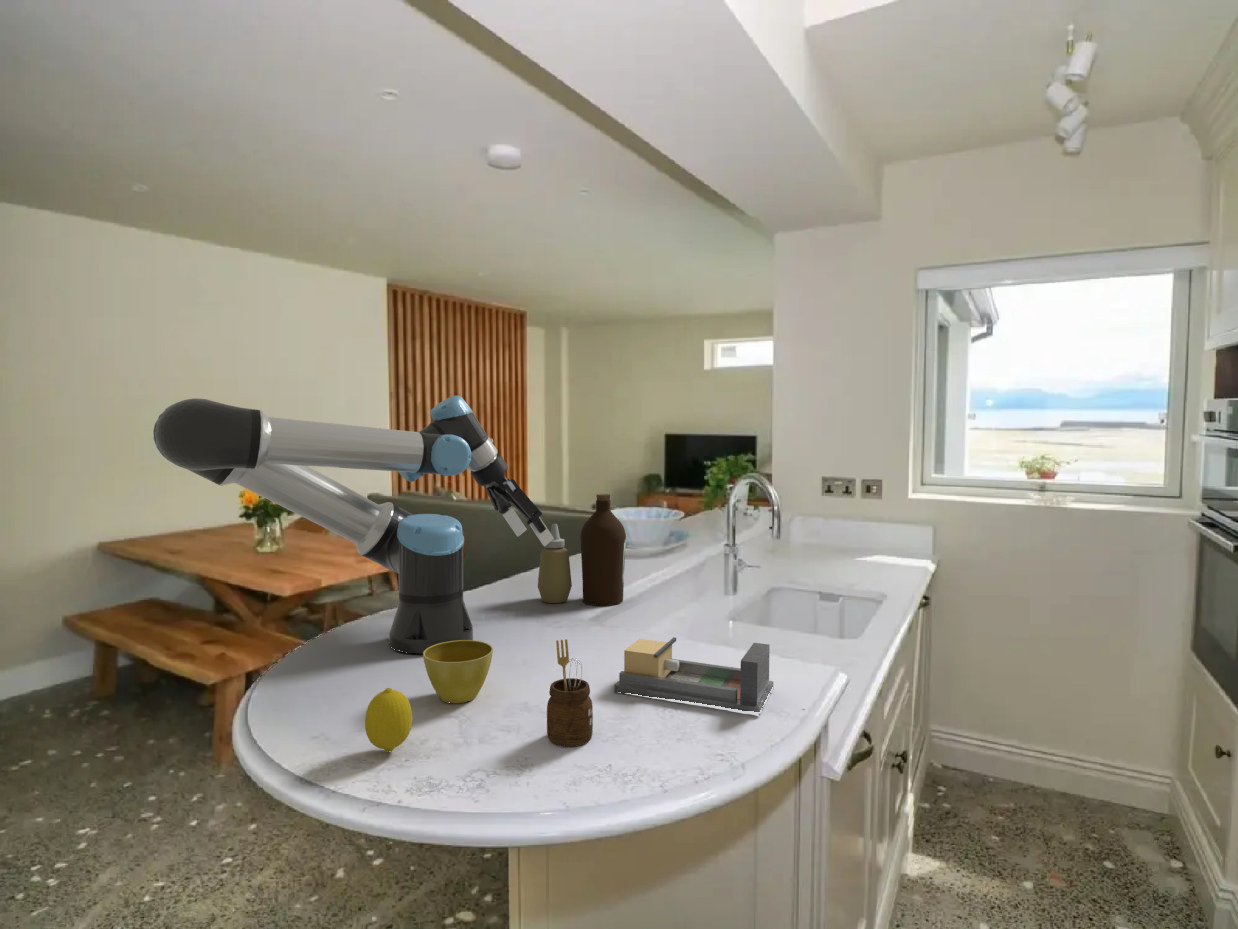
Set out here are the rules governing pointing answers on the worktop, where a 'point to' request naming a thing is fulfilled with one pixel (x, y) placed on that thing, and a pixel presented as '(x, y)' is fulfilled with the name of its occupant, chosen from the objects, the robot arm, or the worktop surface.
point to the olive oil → (603, 556)
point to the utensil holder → (569, 707)
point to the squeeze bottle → (554, 570)
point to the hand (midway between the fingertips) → (534, 537)
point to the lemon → (388, 719)
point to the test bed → (709, 682)
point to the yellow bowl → (458, 668)
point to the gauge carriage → (650, 658)
